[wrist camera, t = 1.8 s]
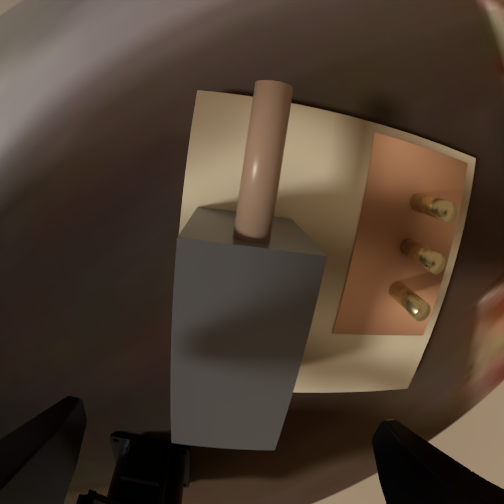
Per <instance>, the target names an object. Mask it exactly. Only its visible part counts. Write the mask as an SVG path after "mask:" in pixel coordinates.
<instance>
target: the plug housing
mask: <svg viewBox="0 0 504 504" xmlns="http://www.w3.org/2000/svg"><path fill="white" fill-rule="evenodd" d="M292 94H293V87H292V86H291V85H289V84H286V83H283V82H279V81H272V80H259V81H256V82H255V88H254V95H253V101H252V108H251V114H250V121H249V127H248V134H247V141H246V148H245V154H244V161H243V168H242V175H241V182H240V189H239V197H238V204H237V211H229V210H221V209H213V208H204V207H197V208H196V210H195V211H194V213H193V214H192V216H191V217H190V219H189V220H188V222H187V223H186V225H185V227H184V228H183V230H182V231H181V233H180V234H179V236H178V237H177V247H176V260H175V274H174V291H173V310H172V335H171V443H176V444H184V445H192V446H202V447H212V448H225V449H243V450H275V448H276V445H277V442H278V439H279V436H280V433H281V430H282V427H283V424H284V420H285V417H286V414H287V411H288V407H289V404H290V401H291V397H292V394H293V390H294V387H295V383H296V380H297V376H298V373H299V369H300V366H301V362H302V358H303V355H304V351H305V347H306V343H307V339H308V336H309V332H310V328H311V324H312V320H313V316H314V312H315V307H316V303H317V299H318V295H319V291H320V286H321V282H322V277H323V273H324V268H325V264H326V259H327V255H326V254H325V253H324V252H323V251H322V250H321V249H320V248H319V247H318V246H317V245H316V244H315V243H314V242H313V241H312V239H311V238H310V237H309V236H308V235H307V234H306V233H305V232H304V231H303V230H302V229H301V228H300V227H299V226H298V225H297V224H296V223H295V222H294V221H293V220H292V219H289V218H282V217H275V216H274V213H275V206H276V200H277V194H278V187H279V181H280V174H281V168H282V161H283V155H284V148H285V141H286V135H287V128H288V121H289V115H290V108H291V101H292Z"/></svg>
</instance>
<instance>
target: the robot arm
mask: <svg viewBox="0 0 504 504" xmlns="http://www.w3.org/2000/svg"><path fill="white" fill-rule="evenodd" d="M86 423H87V418H86V414H85V409H84V405H83V402H82V400H81V399H80V398H77V397H73V396H67V397H66V398H64V399H62V400H61V401H59V402H58V403H56V404H55V405H53V406H52V407H50V408H48V409H47V410H45V411H44V412H42V413H41V414H39V415H37V416H36V417H34V418H33V419H31V420H30V421H28V422H26V423H25V424H23V425H22V426H20V427H18V428H17V429H15V430H14V431H12V432H10V433H9V434H7V435H6V436H4V437H2V438H1V439H0V504H63V503H64V500H65V497H66V494H67V491H68V488H69V486H70V483H71V480H72V477H73V474H74V471H75V468H76V465H77V461H78V457H79V453H80V448H81V444H82V440H83V436H84V432H85V428H86ZM110 441H111V446H112V450H113V454H114V458H115V461H116V466H115V470H114V473H113V477H112V480H111V484H110V488H109V491H108V495H107V497H106V496H103V495H100V494H98V493H96V491H93V490H91V489H89V492H88V495H87V494H86V495H81V494H79V497H78V500H77V503H76V504H182V495H183V487H185V488H186V487H189V483H190V447H189V446H187V445H181V444H174V443H167V442H160V441H154V440H148V439H143V438H137V437H132V436H127V435H122V434H118V433H112V434H111V436H110ZM372 444H373V449H374V455H375V460H376V465H377V470H378V475H379V480H380V484H381V487H382V491H383V494H384V497H385V500H386V504H504V489H502V488H500V487H498V486H496V485H495V484H492V483H491V482H489V481H487V480H485V479H484V478H482V477H480V476H479V475H477V474H476V473H474V472H471V471H470V470H469V469H468V468H466V467H465V466H463V465H462V464H460V463H458V462H457V461H455V460H454V459H452V458H451V457H449V456H448V455H446V454H445V453H443V452H442V451H440V450H439V449H437V448H436V447H434V446H433V445H431V444H430V443H428V442H427V441H426V440H424V439H423V438H421V437H420V436H418V435H417V434H415V433H414V432H412V431H411V430H410V429H408V428H407V427H405V426H404V425H402V424H401V423H400V422H398V421H397V420H395V419H388V420H383V421H382V422H381V423H380V425H379V427H378V429H377V430H376V432H375V434H374V436H373V439H372Z"/></svg>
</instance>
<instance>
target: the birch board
mask: <svg viewBox="0 0 504 504" xmlns="http://www.w3.org/2000/svg"><path fill="white" fill-rule="evenodd" d="M252 101H253V97H251V96H244V95H237V94H229V93H220V92H211V91H200V90H197V96H196V102H195V108H194V114H193V121H192V128H191V135H190V142H189V149H188V156H187V164H186V172H185V181H184V189H183V198H182V208H181V218H180V229H179V234H180V233H181V231H182V230H183V228H184V227H185V225H186V223H187V222H188V220H189V219H190V217H191V216H192V214H193V213H194V211H195V210H196V208H197V207H204V208H213V209H221V210H229V211H237V204H238V197H239V189H240V182H241V175H242V168H243V161H244V154H245V148H246V141H247V134H248V127H249V121H250V114H251V108H252ZM475 162H476V158H474V157H471V156H469V155H466V154H464V153H462V152H459V151H457V150H454V149H451V148H449V147H446V146H444V145H441V144H438V143H435V142H433V141H430V140H427V139H424V138H421V137H418V136H416V135H413V134H410V133H406V132H403V131H400V130H397V129H394V128H391V127H387V126H384V125H381V124H377V123H374V122H370V121H366V120H363V119H359V118H355V117H351V116H347V115H343V114H339V113H335V112H331V111H327V110H322V109H318V108H313V107H308V106H303V105H298V104H293V103H291V108H290V115H289V121H288V128H287V135H286V141H285V148H284V155H283V161H282V168H281V174H280V181H279V187H278V194H277V200H276V206H275V213H274V216H275V217H282V218H289V219H292V220H293V221H294V222H295V223H296V224H297V225H298V226H299V227H300V228H301V229H302V230H303V231H304V232H305V233H306V234H307V235H308V236H309V237H310V238H311V239H312V241H313V242H314V243H315V244H316V245H317V246H318V247H319V248H320V249H321V250H322V251H323V252H324V253H325V254H326V255H327V259H326V264H325V268H324V273H323V277H322V282H321V286H320V291H319V295H318V299H317V303H316V307H315V312H314V316H313V320H312V324H311V328H310V332H309V336H308V339H307V343H306V347H305V351H304V355H303V358H302V362H301V366H300V369H299V373H298V376H297V380H296V383H295V387H294V390H293V392H307V393H327V392H363V391H381V390H395V389H407V388H408V386H409V384H410V382H411V380H412V378H413V376H414V373H415V371H416V369H417V367H418V364H419V362H420V360H421V357H422V355H423V353H424V350H425V348H426V346H427V343H428V341H429V338H430V335H431V333H432V330H433V328H434V325H435V322H436V320H437V317H438V314H439V311H440V308H441V306H442V303H443V300H444V297H445V294H446V290H447V287H448V284H449V281H450V278H451V274H452V271H453V267H454V264H455V260H456V257H457V253H458V249H459V245H460V241H461V237H462V233H463V229H464V224H465V220H466V215H467V210H468V205H469V200H470V194H471V188H472V182H473V176H474V169H475ZM415 193H421V194H425V195H429V196H433V197H437V198H440V199H444V200H448V201H451V202H454V203H455V204H456V205H457V208H458V214H457V217H456V219H455V220H454V221H453V222H452V223H447V222H444V221H442V220H439V219H436V218H434V217H431V216H428V215H425V214H423V213H420V212H417V211H414V210H413V209H412V208H411V205H410V200H411V197H412V196H413V195H414V194H415ZM406 238H412V239H414V240H416V241H418V242H419V243H421V244H423V245H425V246H427V247H429V248H431V249H433V250H435V251H436V252H438V253H440V254H442V255H443V256H444V257H445V260H446V263H445V267H444V269H443V270H442V271H441V272H440V273H438V274H433V273H431V272H430V271H428V270H427V269H425V268H424V267H422V266H421V265H419V264H418V263H416V262H414V261H413V260H411V259H410V258H408V257H407V256H405V255H403V254H402V253H401V250H400V246H401V243H402V242H403V240H404V239H406ZM395 281H401V282H402V283H404V284H405V285H406V286H407V287H408V288H410V289H411V290H412V291H413V292H415V293H416V294H417V295H418V296H419V297H421V298H422V299H423V300H424V301H426V302H427V303H428V304H429V305H430V307H431V311H430V314H429V316H428V317H427V318H426V319H425V320H423V321H417V320H416V319H415V318H414V317H412V316H411V315H410V314H409V313H408V312H407V311H406V310H405V309H404V308H403V307H402V306H401V305H400V304H399V303H398V302H397V301H396V300H395V299H394V298H393V297H392V296H391V295H390V294H389V288H390V286H391V284H392V283H394V282H395Z"/></svg>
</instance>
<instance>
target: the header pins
mask: <svg viewBox="0 0 504 504" xmlns="http://www.w3.org/2000/svg"><path fill="white" fill-rule="evenodd" d="M410 205H411V208H412V209H413V210H414V211H417V212H420V213H423V214H425V215H428V216H431V217H434V218H436V219H439V220H442V221H444V222H447V223H452V222H453V221H454V220H455V219H456V217H457V214H458V208H457V205H456V204H455V203H454V202H451V201H448V200H444V199H440V198H437V197H433V196H429V195H425V194H421V193H415V194H414V195H413V196H412V197H411V200H410ZM400 250H401V253H402V254H403V255H405V256H407V257H408V258H410V259H411V260H413V261H414V262H416V263H418V264H419V265H421V266H422V267H424V268H425V269H427V270H428V271H430V272H431V273H433V274H438V273H440V272H441V271H442V270H443V269H444V267H445V263H446V260H445V257H444V256H443V255H442V254H440V253H438V252H436V251H435V250H433V249H431V248H429V247H427V246H425V245H423V244H421V243H419V242H418V241H416V240H414V239H412V238H406V239H404V240H403V242H402V243H401V246H400ZM389 294H390V295H391V296H392V297H393V298H394V299H395V300H396V301H397V302H398V303H399V304H400V305H401V306H402V307H403V308H404V309H405V310H406V311H407V312H408V313H409V314H410V315H411V316H412V317H414V318H415V319H416V320H417V321H423V320H425V319H426V318H427V317H428V316H429V314H430V311H431V307H430V305H429V304H428V303H427V302H426V301H424V300H423V299H422V298H421V297H419V296H418V295H417V294H416V293H415V292H413V291H412V290H411V289H410V288H408V287H407V286H406V285H405V284H404V283H402V282H401V281H395V282H394V283H392V284H391V286H390V288H389Z"/></svg>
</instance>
